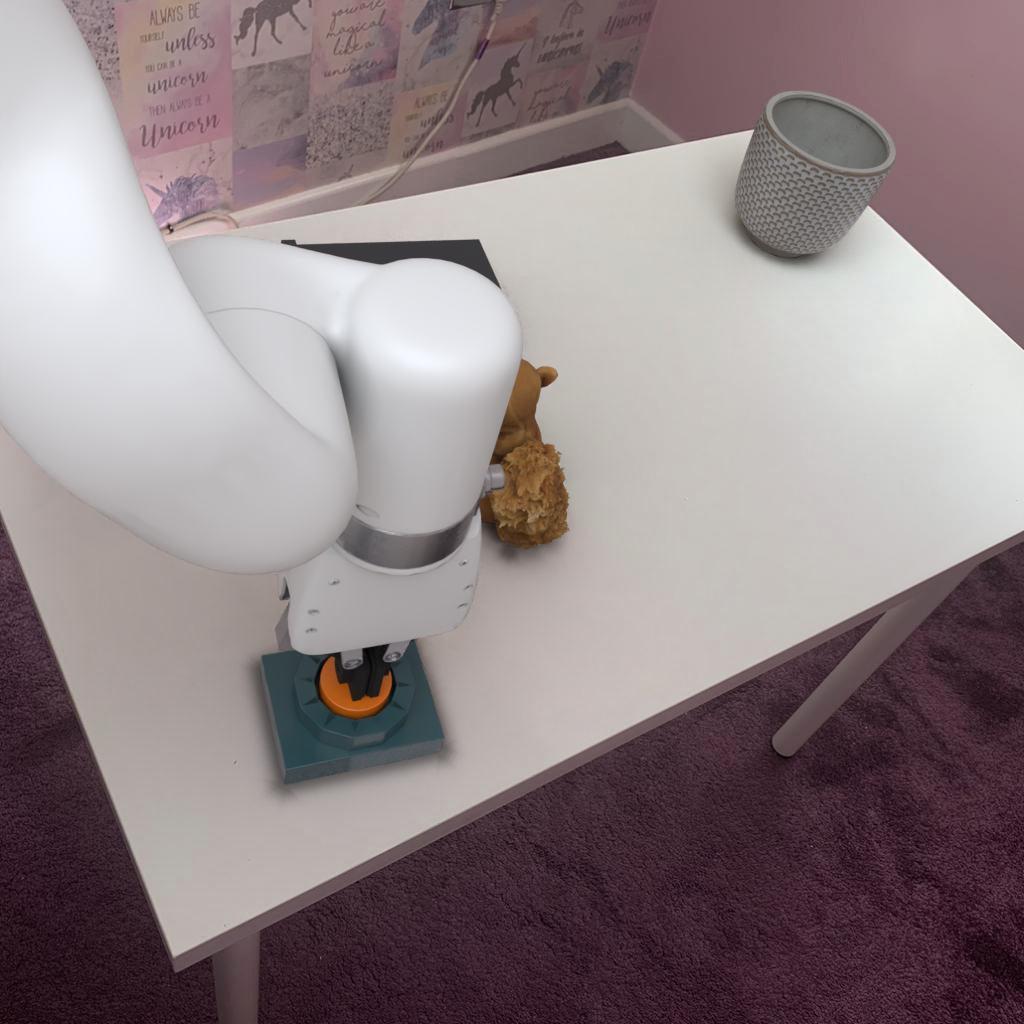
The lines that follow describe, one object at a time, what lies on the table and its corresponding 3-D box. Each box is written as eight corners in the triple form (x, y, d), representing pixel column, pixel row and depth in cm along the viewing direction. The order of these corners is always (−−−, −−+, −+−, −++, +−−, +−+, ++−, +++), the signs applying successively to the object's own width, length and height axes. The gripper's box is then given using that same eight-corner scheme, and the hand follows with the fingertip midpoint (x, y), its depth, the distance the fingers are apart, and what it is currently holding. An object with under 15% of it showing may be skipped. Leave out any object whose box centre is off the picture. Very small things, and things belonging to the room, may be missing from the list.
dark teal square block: (283, 785, 65) (287, 757, 62) (259, 671, 69) (262, 640, 66) (439, 752, 68) (450, 724, 65) (407, 646, 73) (416, 615, 69)
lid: (302, 338, 83) (304, 317, 82) (276, 250, 89) (277, 229, 87) (514, 325, 90) (520, 306, 88) (478, 244, 96) (482, 224, 94)
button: (326, 730, 65) (329, 717, 63) (311, 667, 67) (313, 653, 66) (396, 716, 66) (399, 703, 65) (379, 656, 68) (382, 642, 67)
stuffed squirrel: (500, 422, 87) (538, 301, 77) (596, 550, 81) (651, 438, 71) (394, 456, 83) (420, 333, 72) (488, 595, 77) (530, 482, 66)
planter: (689, 211, 112) (735, 101, 102) (775, 185, 119) (826, 80, 109) (778, 294, 107) (836, 186, 97) (862, 261, 114) (925, 157, 104)
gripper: (517, 423, 56) (456, 608, 70) (227, 452, 50) (225, 646, 65) (565, 537, 52) (490, 709, 66) (255, 582, 46) (246, 758, 61)
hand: (359, 677), depth 65 cm, fingers closed
